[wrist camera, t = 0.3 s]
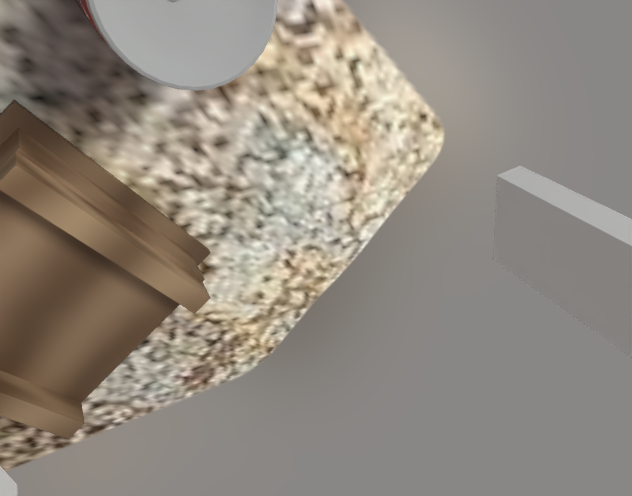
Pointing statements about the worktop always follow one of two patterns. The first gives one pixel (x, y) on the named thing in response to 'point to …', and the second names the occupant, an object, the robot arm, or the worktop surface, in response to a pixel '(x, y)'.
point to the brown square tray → (77, 273)
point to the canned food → (185, 37)
